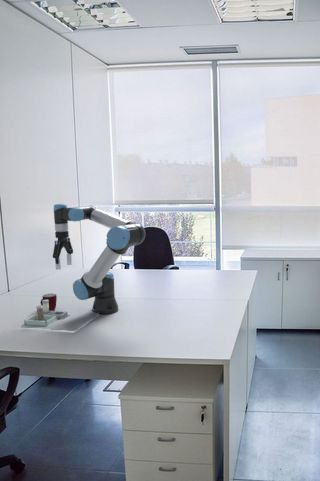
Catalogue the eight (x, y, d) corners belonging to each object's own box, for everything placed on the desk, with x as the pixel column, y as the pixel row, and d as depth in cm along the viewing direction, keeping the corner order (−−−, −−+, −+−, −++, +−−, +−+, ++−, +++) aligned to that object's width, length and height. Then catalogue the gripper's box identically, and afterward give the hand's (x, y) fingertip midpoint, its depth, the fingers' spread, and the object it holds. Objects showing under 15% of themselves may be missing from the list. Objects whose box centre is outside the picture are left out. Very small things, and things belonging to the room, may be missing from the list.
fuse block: (70, 316, 269) (70, 311, 269) (63, 321, 262) (63, 315, 262) (42, 315, 275) (42, 310, 274) (35, 319, 267) (34, 314, 267)
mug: (37, 313, 279) (36, 296, 278) (44, 309, 287) (43, 293, 285) (53, 314, 276) (52, 297, 275) (59, 310, 284) (58, 293, 282)
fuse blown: (45, 321, 259) (44, 305, 258) (42, 323, 256) (40, 307, 255) (39, 321, 260) (38, 305, 259) (36, 323, 257) (35, 307, 256)
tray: (57, 321, 261) (56, 315, 261) (47, 327, 251) (46, 321, 251) (35, 320, 265) (34, 314, 265) (24, 326, 255) (24, 320, 255)
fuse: (50, 315, 271) (49, 299, 269) (47, 316, 267) (46, 301, 266) (45, 314, 272) (44, 299, 270) (42, 316, 268) (41, 301, 267)
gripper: (66, 228, 286) (68, 262, 289) (44, 233, 263) (47, 271, 266) (77, 228, 284) (79, 263, 287) (56, 233, 260) (59, 271, 263)
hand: (64, 267), depth 276 cm, fingers open, 13 cm apart
